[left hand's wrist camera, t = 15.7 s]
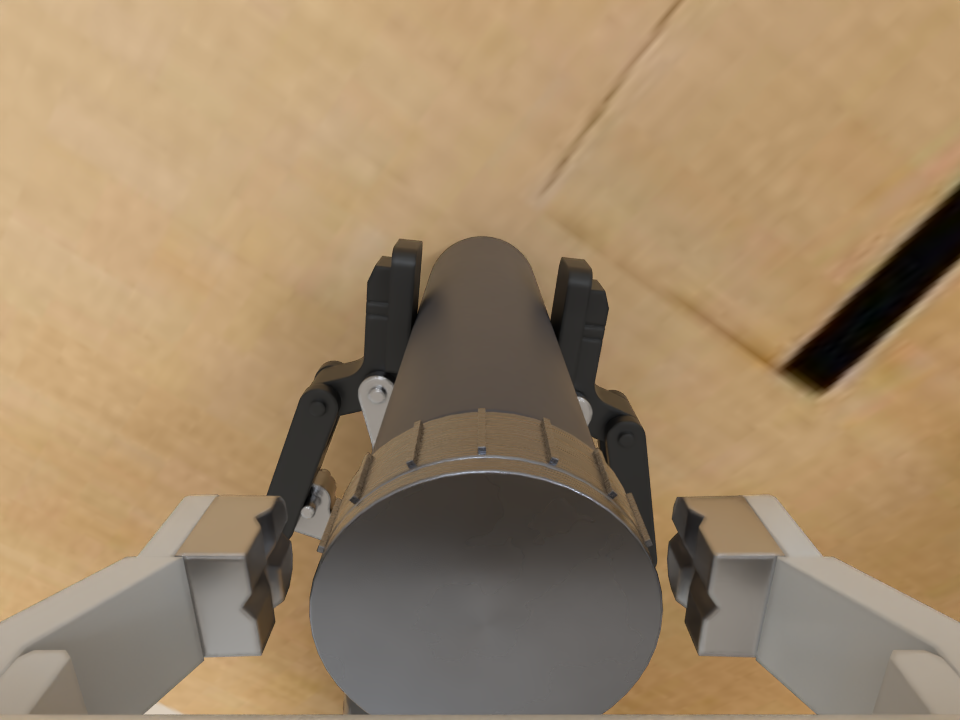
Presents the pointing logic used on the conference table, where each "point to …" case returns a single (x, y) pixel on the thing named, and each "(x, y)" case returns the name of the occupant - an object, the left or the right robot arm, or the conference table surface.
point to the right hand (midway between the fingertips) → (491, 256)
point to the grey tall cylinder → (482, 346)
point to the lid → (485, 575)
